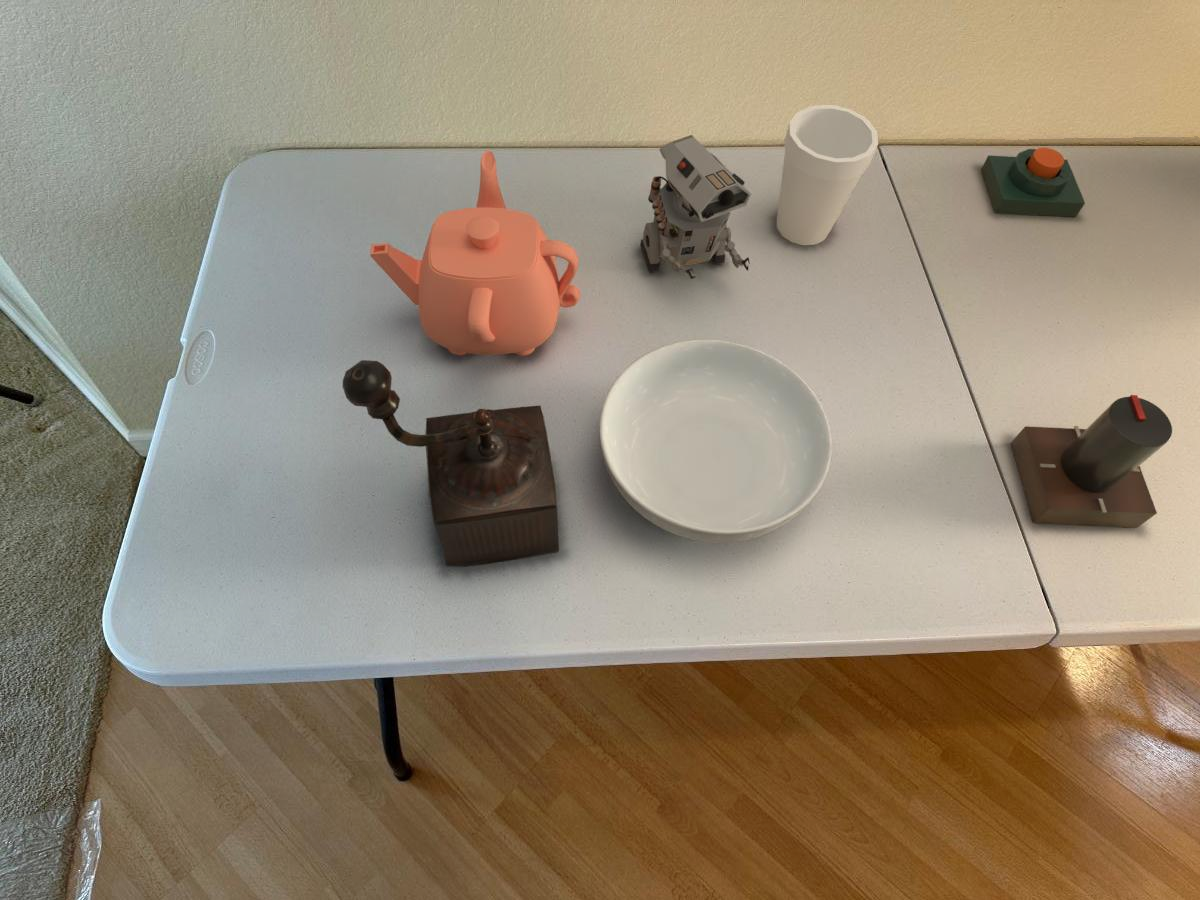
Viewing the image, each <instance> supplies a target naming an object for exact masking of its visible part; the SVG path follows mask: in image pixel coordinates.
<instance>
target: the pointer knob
mask: <svg viewBox="0 0 1200 900" xmlns="http://www.w3.org/2000/svg"><path fill="white" fill-rule="evenodd" d="M1085 429H1086V430H1085V431H1084V432H1083V433H1082V434H1081V435H1080V436H1079V437H1078V438H1077V439H1076V440H1075V441H1074V442H1073V443H1072V444H1071V445H1070V446H1069V447H1068V448H1067V449H1066V450H1065V451H1064V453H1063V455H1062V467H1063V469H1064V471H1065V473H1066V475H1067V476H1068V477H1069V478H1070V479H1071V480H1072V481H1073V482H1074V483H1075V484H1077V485H1078V486H1080V487H1082V488H1084V489H1086V490H1089V491H1093V492H1105V491H1108V490H1110V489H1112V488H1113V487H1115V486H1116V485H1117V484H1118V483H1119V482H1121V481H1122V480H1123V479H1124V478H1125V477H1127V476H1128V475H1129V474H1130V473H1131V472H1132V471H1134V470H1135V469H1136V468H1137V467H1138V466H1140V467H1141V465H1142V464H1143V463H1145V462H1146V461H1147V460H1148V459H1149V458H1151V457H1152V456H1153V455H1154V454H1155V453H1156V452H1158V451H1159V450H1160V449H1161V448H1162V447H1163V446H1165V445H1166V444H1168V443H1169V441H1170V440H1171V438H1172V436H1173V425H1172V422H1171V420H1170V419H1169V417H1168V415H1166V413H1165V411H1163V409H1161V408H1160V407H1159V406H1157V405H1156V404H1155V403H1154V402H1151V401H1149V400H1147V399H1144V398H1142V397H1139V396H1138V394H1130V395H1129V396H1123V397H1120V398H1117V399H1115V401H1113V402H1112V403H1111V404H1110V405H1109V406H1108V407H1107V408H1106V409H1105V410H1104V411H1103V412H1102V413H1101V414H1100V415H1099V416H1098V417H1097V418H1096V419H1095V420H1094V421H1093V422H1092V423H1091V424H1090V425H1089V426H1088V427H1087V428H1085Z"/></svg>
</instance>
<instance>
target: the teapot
mask: <svg viewBox="0 0 1200 900" xmlns="http://www.w3.org/2000/svg"><path fill="white" fill-rule="evenodd" d="M479 176H480V177H479V180H480V181H479V189H478V195H477V201H476V207H469V208H468V207H466V208H459V209H453V210H448V211H446V212H443V213H441V214H439V215H438V216H437V217H436V218H435V220H434V222H433V224H432V227H431V229H430V232H429V235H428V238H427V242H426V244H425V248H424V251H423V254H422V257H421V260H420V259H417V258H415V257H413V256H410V255H409V254H407V253H405V252H403V251H401V250H399V249H398V248H396V247H394V246H392V245H390V243H389V242H383V243H374V244H373V243H372V244H371V245H370V251H369V256H370V258H371V259H372V260H373V261H374V262H375V263H376V264H377V265H378V266H379V267H380V268H381V269H382V271H383V272H384V273H385V274H386V275H387V276H388V277H389V278H390V279H391V280H392V282H393V283H394V284H395V285H396V286H397V287H398V288H399V289H400V290H401V291H402V293H404V295H405V296H406V297H407V298H408V299H409V300H410V301H411V302H412V303H413V305H414V306H418V317H419V322H420V325H421V328H422V331H423V332H424V333H425V335H426V336H427V337H428V338H429V339H431V340H432V342H434V343H436V344H437V345H439V346H442V347H443V348H446V349H447V350H448V351H449V352H450V353H451V354H453V355H457V356H463V355H466V354H474V355H482V356H483V355H484V356H495V355H496V356H498V355H509V354H514V355H516V356H522V357H524V356H528V355H530V354H533V352H534V351H535V349H536V348H537V347H539V346H541V345H542V344H544V343H545V342H546V341H547V340H548V339H549V338H550V337H551V336H552V334H553V332H554V331H555V328H556V326H557V321H558V318H559V313H560V307H562V308H572V307H574V306H576V305H578V303H579V301H580V298H581V291H580V289H579V287H578V286H576V285H574V284H571V283H572V282H573V281H574V278H575V277H576V275H577V273H578V268H579V256H578V253H577V252H576V249H574V247H573V246H571V245H569V244H568V243H566V242H564V241H560V240H558V239H557V240H555V239H548V236H547V235H546V233H545V232H544V230H543V228H542V226H541V225H540V224H539V222H538V221H537V219H536V218H535V217H534V216H532V215H531V214H529V213H527V212H523V211H519V210H515V209H510V208H507V207H506V204H505V201H504V198H503V195H502V191H501V188H500V185H499V180H498V179H499V178H498V172H497V160H496V156H495V154H494V153H493V152H492V151H491V150H485V151H484V152H483V153H482V154H481V159H480V175H479ZM556 257H558V258H561V259H563V260H565V261H567V262H568V263H567V267H566V269H565V271H564V272H563V274H562V276H561V278H559V272H558V271H559V270H558V266H557V260H556Z"/></svg>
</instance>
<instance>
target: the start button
mask: <svg viewBox="0 0 1200 900" xmlns="http://www.w3.org/2000/svg"><path fill="white" fill-rule="evenodd" d="M1035 149H1036V150H1035V151H1034V153H1033V154H1032V156H1031V158H1030V160H1029V161H1028V163H1027V169H1028V170H1029V171H1030V172H1031V173H1033V174H1034V175H1036V176H1039V177H1042V178H1053V177H1055V176H1056V175H1057V173H1058V172H1059V170H1060V168H1061V167H1062V165H1063V164H1064V159H1065V158H1064V156H1063V155H1062V153H1060V152H1059V151H1057V150H1056V149H1054V148H1051V147H1039V148H1035Z"/></svg>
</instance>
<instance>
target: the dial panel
mask: <svg viewBox="0 0 1200 900" xmlns="http://www.w3.org/2000/svg"><path fill="white" fill-rule="evenodd" d="M1086 429H1087V428H1080V427H1079V425H1073V428H1069V427H1068V428H1067V427H1047V426H1028V425H1027V426H1024V427H1023V428H1022V429H1021V430H1020V432H1019V433H1018V434H1017V435H1016V436H1015V437H1014V438H1013V439H1012V440H1011V442H1010V445H1011V448H1012V452H1013V456H1014V459H1015V463H1016V466H1017V470H1018V474H1019V477H1020V480H1021V484H1022V488H1023V492H1024V495H1025V498H1026V502H1027V506H1028V510H1029V514H1030V517H1031V520H1032V523H1033V524H1053V525H1073V526H1092V527H1093V526H1094V527H1115V528H1116V527H1117V528H1118V527H1119V528H1135V529H1137V528H1139V527H1140V526H1142V525H1143V524H1144V523H1146V522H1147V521H1149V520H1150V519H1151V518H1153V517H1154V516H1156V515H1157V514H1158V511H1157V509H1156V506H1155V504H1154V501H1153V499H1152V496H1151V493H1150V489H1149V487H1148V485H1147V482H1146V479H1145V477H1144V474H1143V471H1142V469H1141V465H1140V466H1138V467H1137V468H1136V469H1135V470H1134V471H1132V472H1131V473H1130V474H1129V475H1128V476H1127V477H1125V478H1124V479H1123V480H1122V481H1121V482H1119V483H1118V484H1117V485H1116V486H1115V487H1113V488H1112V489H1110V490H1108V491H1105V492H1093V491H1089V490H1086V489H1084V488H1082V487H1080V486H1078V485H1077V484H1075V483H1074V482H1073V481H1072V480H1071V479H1070V478H1069V477H1068V476H1067V475H1066V473H1065V471H1064V469H1063V467H1062V455H1063V453H1064V451H1065V450H1066V449H1067V448H1068V447H1069V446H1070V445H1071V444H1072V443H1073V442H1074V441H1075V440H1076V439H1077V438H1078V437H1079V436H1080V435H1081V434H1082V433H1083V432H1084V431H1085V430H1086Z"/></svg>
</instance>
